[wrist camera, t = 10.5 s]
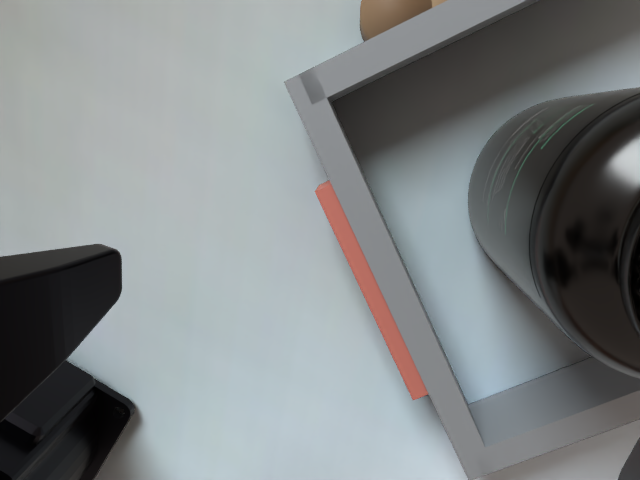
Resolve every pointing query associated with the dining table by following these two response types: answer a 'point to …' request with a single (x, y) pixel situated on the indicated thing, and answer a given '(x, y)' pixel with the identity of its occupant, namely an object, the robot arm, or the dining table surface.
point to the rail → (389, 14)
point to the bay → (399, 291)
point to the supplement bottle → (569, 217)
